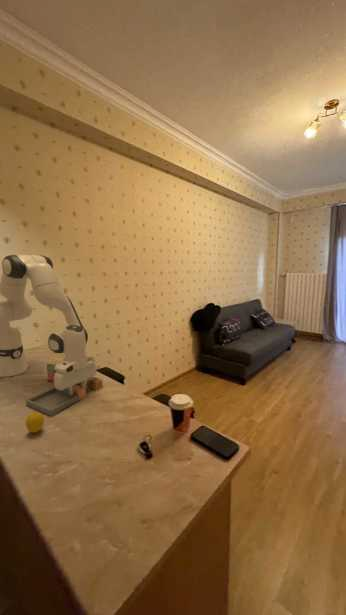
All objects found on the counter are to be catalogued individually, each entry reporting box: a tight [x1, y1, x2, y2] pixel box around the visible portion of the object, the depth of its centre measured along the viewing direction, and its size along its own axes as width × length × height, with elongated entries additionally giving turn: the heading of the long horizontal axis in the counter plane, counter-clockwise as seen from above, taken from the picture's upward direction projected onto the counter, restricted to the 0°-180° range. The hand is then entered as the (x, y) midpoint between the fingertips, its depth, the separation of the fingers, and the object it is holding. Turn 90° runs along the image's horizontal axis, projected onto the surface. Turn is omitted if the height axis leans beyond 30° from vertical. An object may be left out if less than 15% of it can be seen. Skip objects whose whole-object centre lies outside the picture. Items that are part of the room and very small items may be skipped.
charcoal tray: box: [25, 386, 80, 418], centre depth 114 cm, size 16×14×2 cm
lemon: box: [25, 411, 45, 434], centre depth 94 cm, size 6×6×8 cm
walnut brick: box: [86, 376, 103, 391], centre depth 129 cm, size 6×4×4 cm, turn 59°
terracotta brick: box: [71, 384, 87, 400], centre depth 121 cm, size 6×4×4 cm, turn 59°
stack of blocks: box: [46, 356, 92, 386], centre depth 136 cm, size 21×6×12 cm, turn 79°
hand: (77, 391), depth 120 cm, fingers open, 5 cm apart
